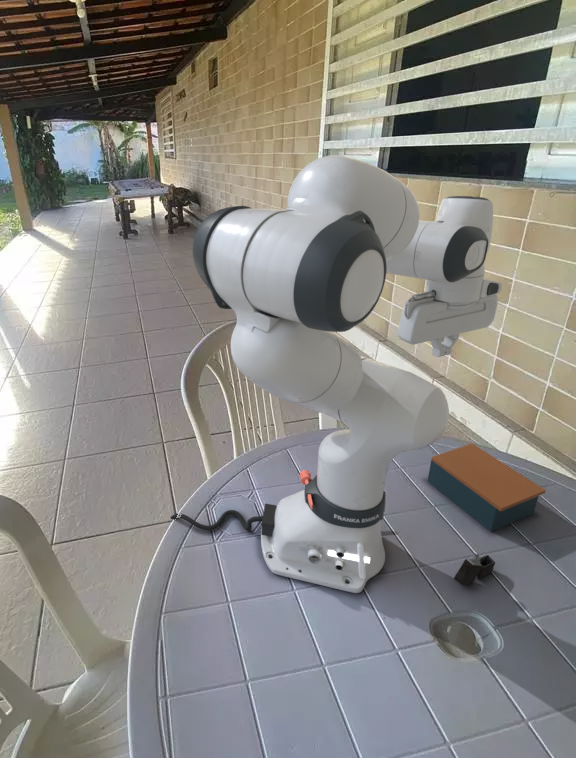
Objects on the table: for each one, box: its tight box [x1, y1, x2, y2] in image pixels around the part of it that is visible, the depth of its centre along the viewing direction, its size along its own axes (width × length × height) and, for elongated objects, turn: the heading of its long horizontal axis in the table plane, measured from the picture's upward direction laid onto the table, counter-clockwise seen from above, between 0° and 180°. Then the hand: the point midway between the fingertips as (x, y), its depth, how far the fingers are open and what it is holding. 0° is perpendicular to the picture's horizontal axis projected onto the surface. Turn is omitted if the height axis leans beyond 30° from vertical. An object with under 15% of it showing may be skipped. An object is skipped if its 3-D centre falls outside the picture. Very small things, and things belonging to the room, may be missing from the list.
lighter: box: [453, 553, 496, 586], centre depth 72 cm, size 8×2×5 cm
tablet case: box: [427, 459, 540, 532], centre depth 87 cm, size 15×12×6 cm
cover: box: [430, 442, 546, 511], centre depth 86 cm, size 15×12×1 cm
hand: (441, 354), depth 82 cm, fingers closed
